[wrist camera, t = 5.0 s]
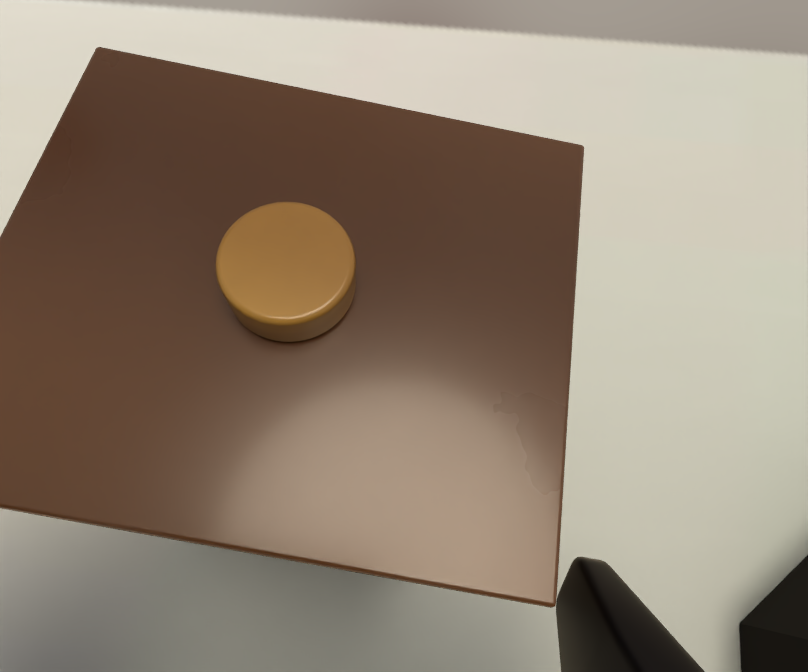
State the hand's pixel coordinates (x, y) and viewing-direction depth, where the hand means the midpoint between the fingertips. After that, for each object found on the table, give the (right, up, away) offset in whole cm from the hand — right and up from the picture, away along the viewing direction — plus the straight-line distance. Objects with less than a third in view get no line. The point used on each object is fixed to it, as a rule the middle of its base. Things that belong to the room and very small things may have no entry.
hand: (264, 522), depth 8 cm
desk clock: (0, -1, +10) cm, 10 cm away
